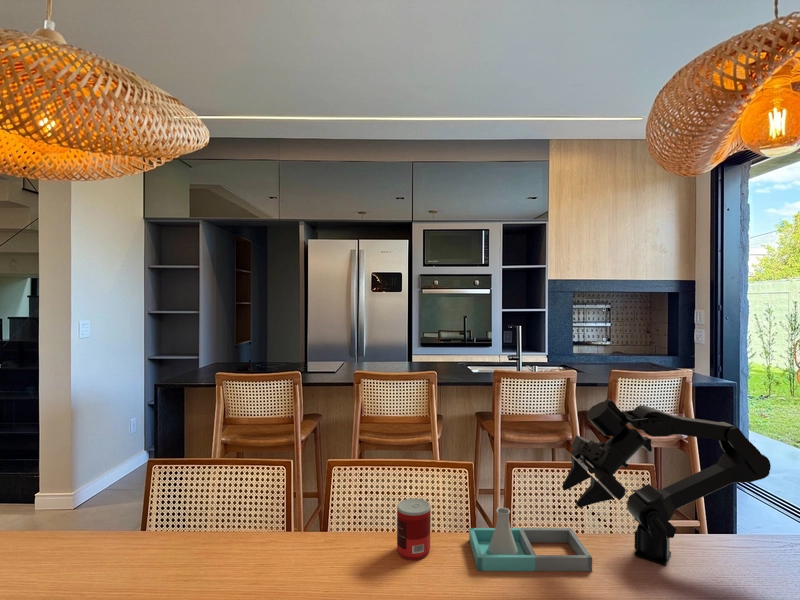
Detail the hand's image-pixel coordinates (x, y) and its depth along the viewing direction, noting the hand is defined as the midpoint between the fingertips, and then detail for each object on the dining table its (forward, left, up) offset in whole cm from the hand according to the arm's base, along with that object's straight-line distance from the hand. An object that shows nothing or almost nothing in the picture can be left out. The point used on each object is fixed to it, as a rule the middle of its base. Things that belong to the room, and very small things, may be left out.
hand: (570, 496), depth 112 cm
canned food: (+29, +22, -14) cm, 39 cm away
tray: (+8, +6, -14) cm, 17 cm away
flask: (+12, +10, -13) cm, 20 cm away
